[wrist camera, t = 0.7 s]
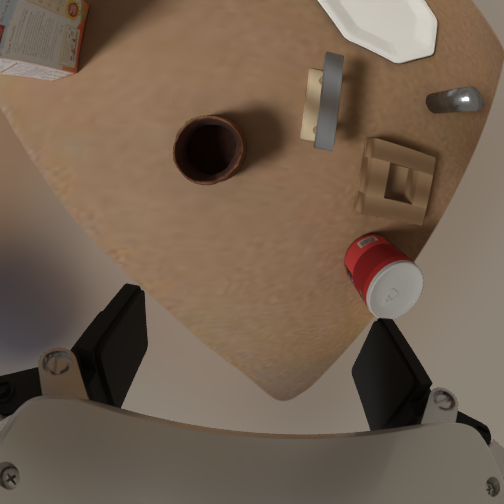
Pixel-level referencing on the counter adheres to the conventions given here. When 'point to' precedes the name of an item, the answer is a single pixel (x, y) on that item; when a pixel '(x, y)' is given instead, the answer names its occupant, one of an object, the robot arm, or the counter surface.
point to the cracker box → (41, 37)
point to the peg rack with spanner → (323, 102)
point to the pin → (455, 100)
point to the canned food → (383, 276)
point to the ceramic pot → (209, 149)
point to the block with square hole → (394, 182)
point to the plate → (386, 26)
